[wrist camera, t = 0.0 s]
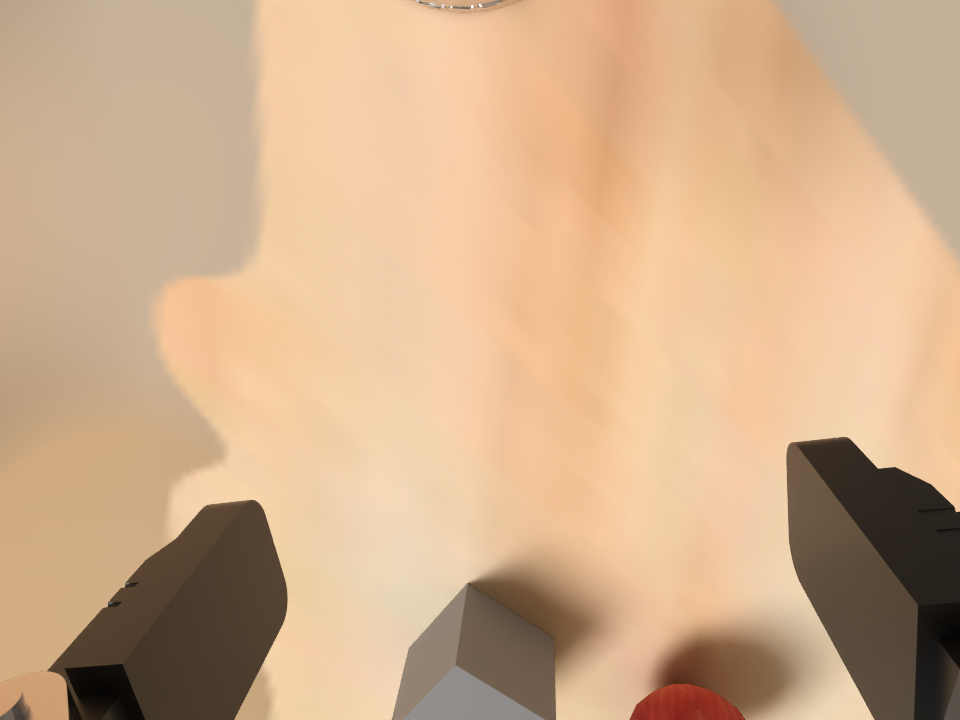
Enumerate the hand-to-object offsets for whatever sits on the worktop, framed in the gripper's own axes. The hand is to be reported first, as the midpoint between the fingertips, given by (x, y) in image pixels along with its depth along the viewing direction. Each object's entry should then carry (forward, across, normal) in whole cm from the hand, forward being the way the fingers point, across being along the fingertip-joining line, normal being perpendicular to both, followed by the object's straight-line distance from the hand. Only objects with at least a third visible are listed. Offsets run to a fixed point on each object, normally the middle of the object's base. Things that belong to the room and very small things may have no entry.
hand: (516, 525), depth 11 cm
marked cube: (+18, +5, +17) cm, 25 cm away
